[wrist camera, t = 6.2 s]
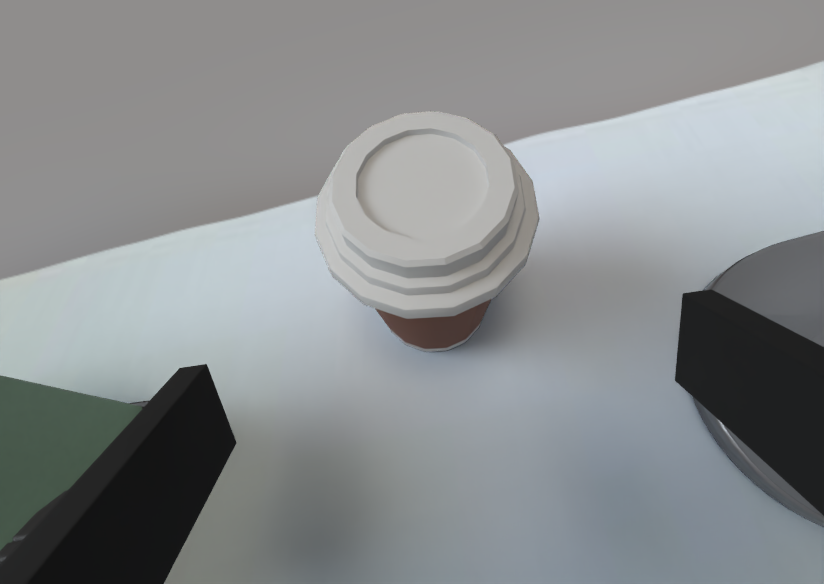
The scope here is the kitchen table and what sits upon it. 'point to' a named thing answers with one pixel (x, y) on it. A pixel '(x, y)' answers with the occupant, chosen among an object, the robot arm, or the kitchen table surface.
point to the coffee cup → (427, 224)
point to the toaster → (49, 444)
